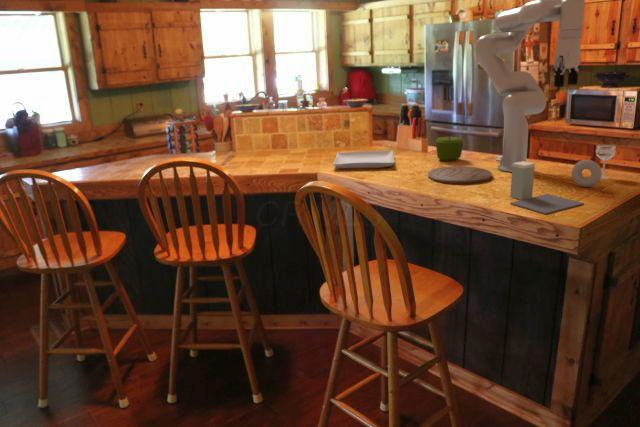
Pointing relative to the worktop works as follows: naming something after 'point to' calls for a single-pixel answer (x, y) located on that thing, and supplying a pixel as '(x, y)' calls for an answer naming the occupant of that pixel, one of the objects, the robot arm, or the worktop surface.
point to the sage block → (522, 180)
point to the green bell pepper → (449, 148)
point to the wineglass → (605, 155)
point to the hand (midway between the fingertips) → (565, 85)
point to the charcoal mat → (546, 204)
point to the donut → (589, 165)
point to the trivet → (460, 175)
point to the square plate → (364, 159)
